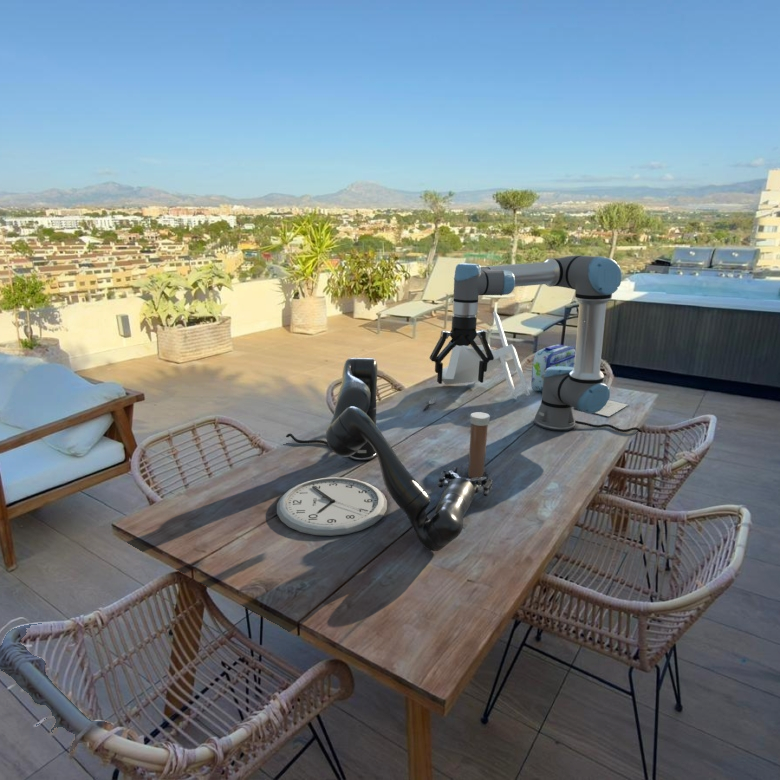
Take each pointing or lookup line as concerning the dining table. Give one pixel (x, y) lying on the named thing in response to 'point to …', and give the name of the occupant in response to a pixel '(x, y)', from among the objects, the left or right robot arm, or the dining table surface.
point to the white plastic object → (467, 360)
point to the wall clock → (331, 506)
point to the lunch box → (550, 362)
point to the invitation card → (611, 408)
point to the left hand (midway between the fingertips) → (470, 472)
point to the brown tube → (477, 451)
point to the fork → (430, 403)
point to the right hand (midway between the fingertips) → (460, 382)
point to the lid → (479, 418)
